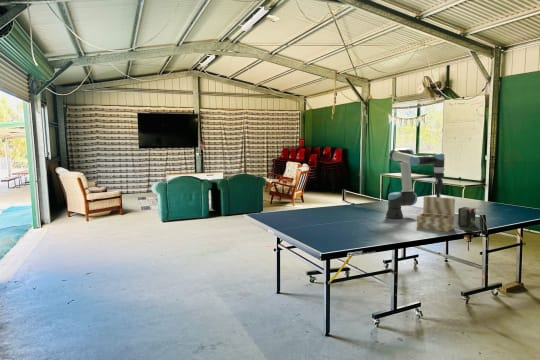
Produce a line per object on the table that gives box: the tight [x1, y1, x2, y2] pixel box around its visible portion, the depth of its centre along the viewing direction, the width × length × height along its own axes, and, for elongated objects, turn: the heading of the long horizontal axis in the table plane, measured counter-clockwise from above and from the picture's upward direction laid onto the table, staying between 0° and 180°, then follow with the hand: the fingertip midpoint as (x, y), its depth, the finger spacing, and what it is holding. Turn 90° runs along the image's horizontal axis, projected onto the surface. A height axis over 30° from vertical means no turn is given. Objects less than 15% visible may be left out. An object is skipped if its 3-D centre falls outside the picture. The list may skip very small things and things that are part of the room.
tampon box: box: [457, 206, 477, 228], centre depth 291 cm, size 11×9×15 cm
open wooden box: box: [416, 213, 455, 233], centre depth 286 cm, size 24×14×10 cm, turn 47°
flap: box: [422, 195, 456, 217], centre depth 290 cm, size 24×14×1 cm
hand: (438, 201), depth 289 cm, fingers closed
